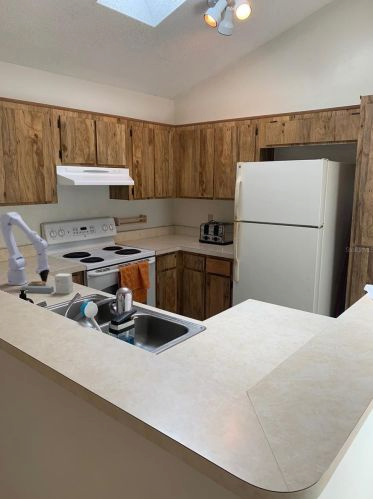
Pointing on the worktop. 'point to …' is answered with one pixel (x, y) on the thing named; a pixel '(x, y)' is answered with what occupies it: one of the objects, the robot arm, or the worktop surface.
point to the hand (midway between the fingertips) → (44, 282)
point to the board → (38, 289)
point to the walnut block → (37, 283)
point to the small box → (63, 283)
